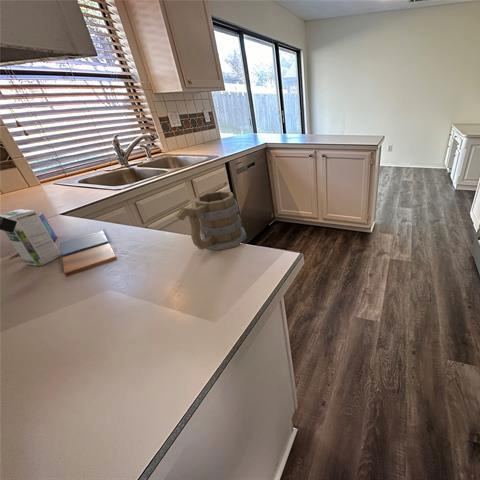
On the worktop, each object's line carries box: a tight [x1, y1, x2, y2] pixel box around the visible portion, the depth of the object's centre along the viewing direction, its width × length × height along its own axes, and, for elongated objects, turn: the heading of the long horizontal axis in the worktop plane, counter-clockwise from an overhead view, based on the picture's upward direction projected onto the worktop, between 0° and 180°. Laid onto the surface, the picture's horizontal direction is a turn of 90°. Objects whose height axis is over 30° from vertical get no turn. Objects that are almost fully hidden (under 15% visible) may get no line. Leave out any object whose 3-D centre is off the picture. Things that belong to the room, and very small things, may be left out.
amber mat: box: [61, 243, 118, 277], centre depth 73 cm, size 11×11×1 cm
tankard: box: [176, 190, 248, 252], centre depth 75 cm, size 20×13×15 cm, turn 159°
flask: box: [36, 211, 58, 243], centre depth 82 cm, size 9×3×11 cm, turn 24°
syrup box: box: [0, 208, 62, 267], centre depth 71 cm, size 6×6×14 cm
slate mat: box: [59, 230, 110, 257], centre depth 82 cm, size 11×11×1 cm
